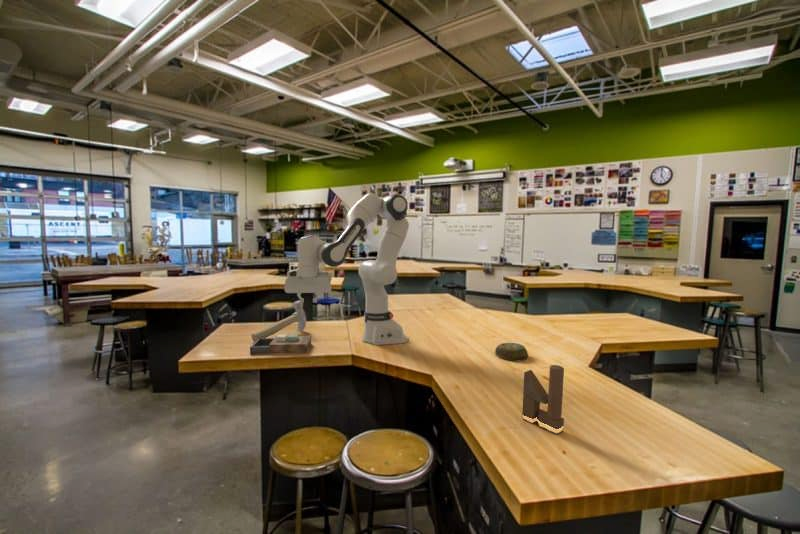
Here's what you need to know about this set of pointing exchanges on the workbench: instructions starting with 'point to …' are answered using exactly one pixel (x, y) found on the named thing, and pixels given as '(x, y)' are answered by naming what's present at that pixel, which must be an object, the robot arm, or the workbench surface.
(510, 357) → the weight
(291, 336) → the tile
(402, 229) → the robot arm
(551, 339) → the workbench surface
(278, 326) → the hammer
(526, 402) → the brown letter n
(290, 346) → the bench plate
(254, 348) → the tray
